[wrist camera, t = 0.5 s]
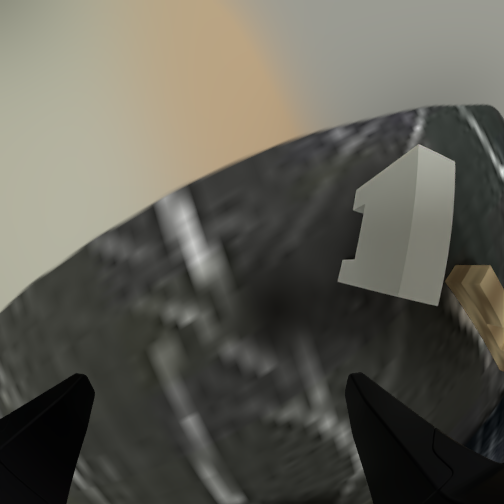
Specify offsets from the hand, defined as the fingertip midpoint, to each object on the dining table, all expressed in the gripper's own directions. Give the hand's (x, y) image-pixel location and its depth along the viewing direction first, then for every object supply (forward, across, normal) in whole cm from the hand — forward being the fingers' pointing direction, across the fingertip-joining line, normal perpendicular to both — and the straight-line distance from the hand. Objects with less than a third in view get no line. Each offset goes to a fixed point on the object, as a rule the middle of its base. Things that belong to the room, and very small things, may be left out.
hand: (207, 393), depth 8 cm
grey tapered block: (+14, -10, 0) cm, 17 cm away
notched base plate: (+11, -25, +8) cm, 28 cm away
